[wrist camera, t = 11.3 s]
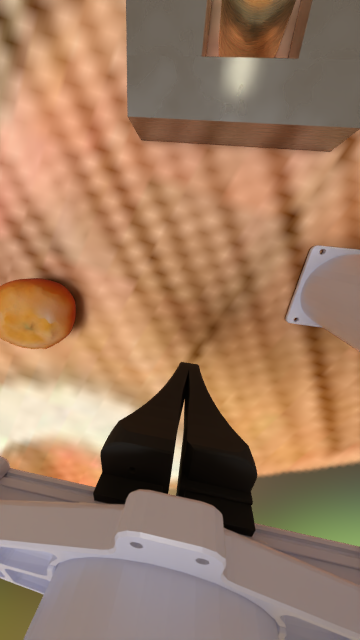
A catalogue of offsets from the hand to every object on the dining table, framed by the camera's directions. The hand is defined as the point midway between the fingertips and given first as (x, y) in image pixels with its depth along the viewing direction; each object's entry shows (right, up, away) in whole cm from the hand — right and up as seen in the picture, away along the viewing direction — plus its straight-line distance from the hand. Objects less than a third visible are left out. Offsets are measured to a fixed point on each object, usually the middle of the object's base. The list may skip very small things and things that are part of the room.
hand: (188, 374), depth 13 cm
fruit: (-17, +6, +10) cm, 20 cm away
